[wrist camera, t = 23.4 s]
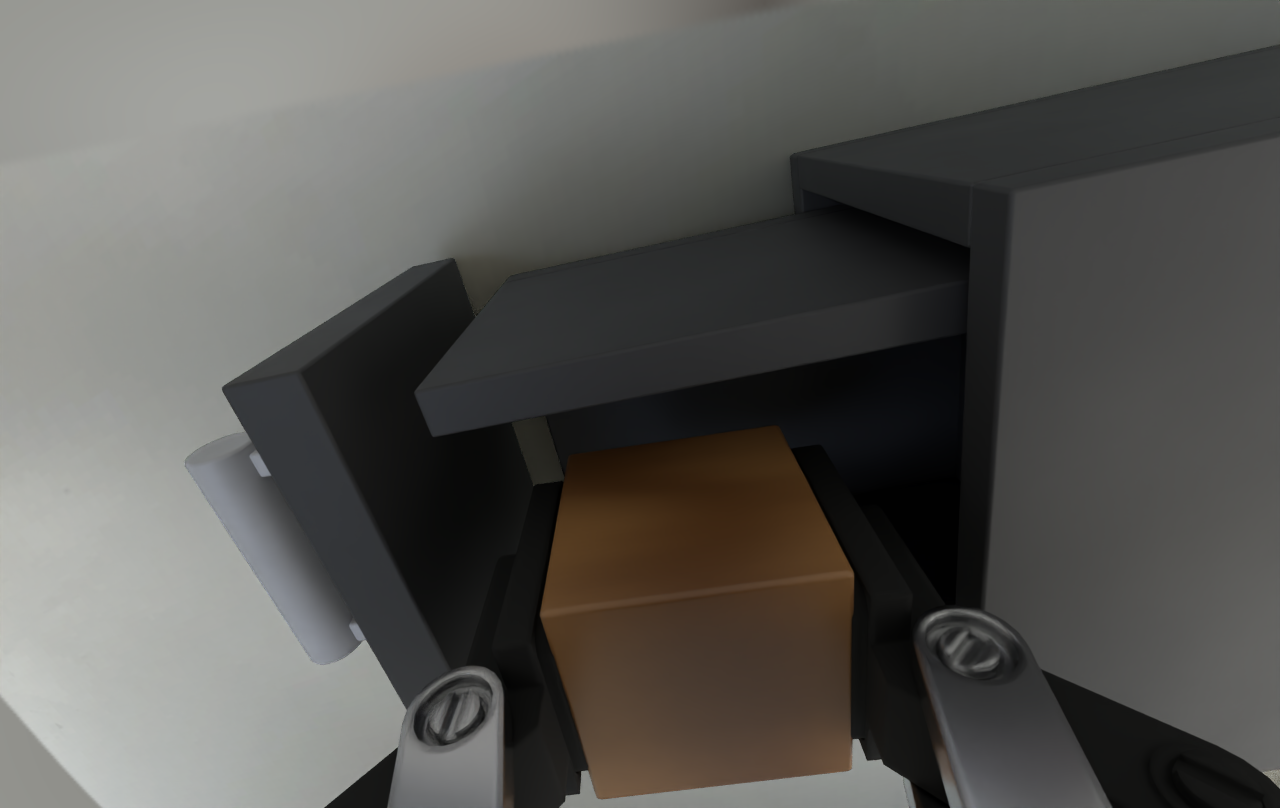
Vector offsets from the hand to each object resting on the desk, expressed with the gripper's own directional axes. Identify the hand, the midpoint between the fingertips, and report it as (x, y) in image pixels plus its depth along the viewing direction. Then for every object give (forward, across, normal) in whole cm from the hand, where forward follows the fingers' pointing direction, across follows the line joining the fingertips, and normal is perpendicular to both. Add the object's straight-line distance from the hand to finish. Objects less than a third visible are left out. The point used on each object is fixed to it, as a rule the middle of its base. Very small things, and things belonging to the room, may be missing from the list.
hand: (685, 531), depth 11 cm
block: (0, 0, 0) cm, 0 cm away
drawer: (+6, +1, 0) cm, 6 cm away
